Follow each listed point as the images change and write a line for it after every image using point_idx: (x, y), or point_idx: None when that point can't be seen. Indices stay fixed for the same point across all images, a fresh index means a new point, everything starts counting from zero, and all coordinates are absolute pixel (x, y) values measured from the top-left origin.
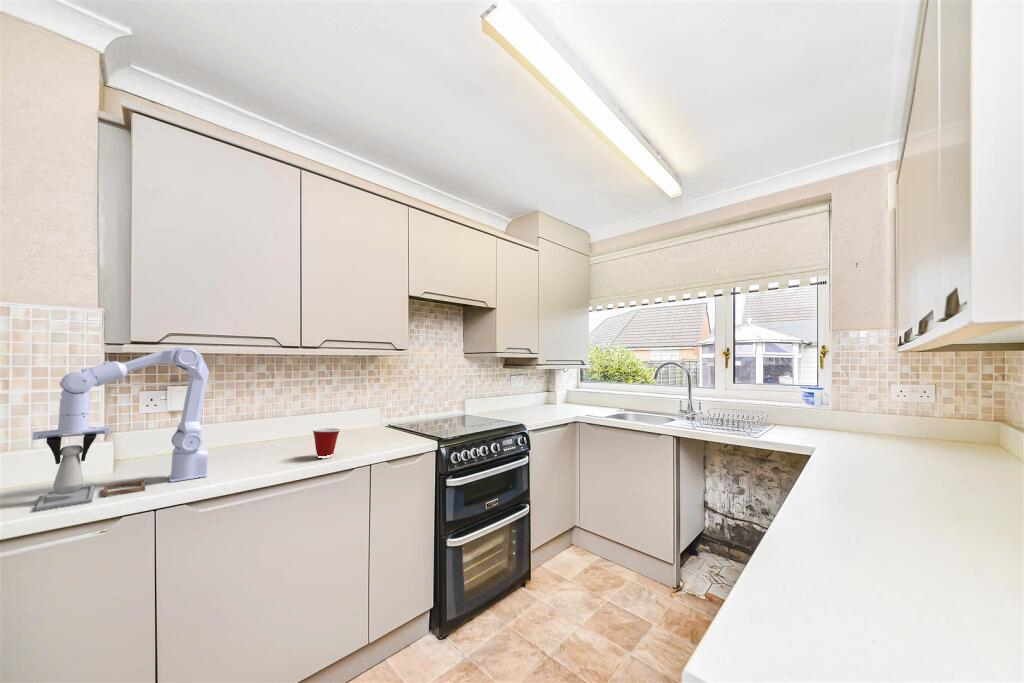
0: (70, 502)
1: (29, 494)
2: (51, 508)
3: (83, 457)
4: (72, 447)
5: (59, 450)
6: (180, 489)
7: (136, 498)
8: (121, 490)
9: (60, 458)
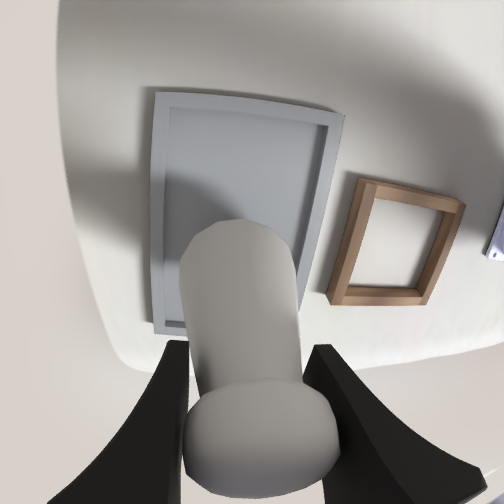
0: None
1: (113, 26)
2: None
3: None
4: (263, 496)
5: (178, 465)
6: (452, 337)
7: (371, 357)
8: (374, 304)
9: (187, 363)
